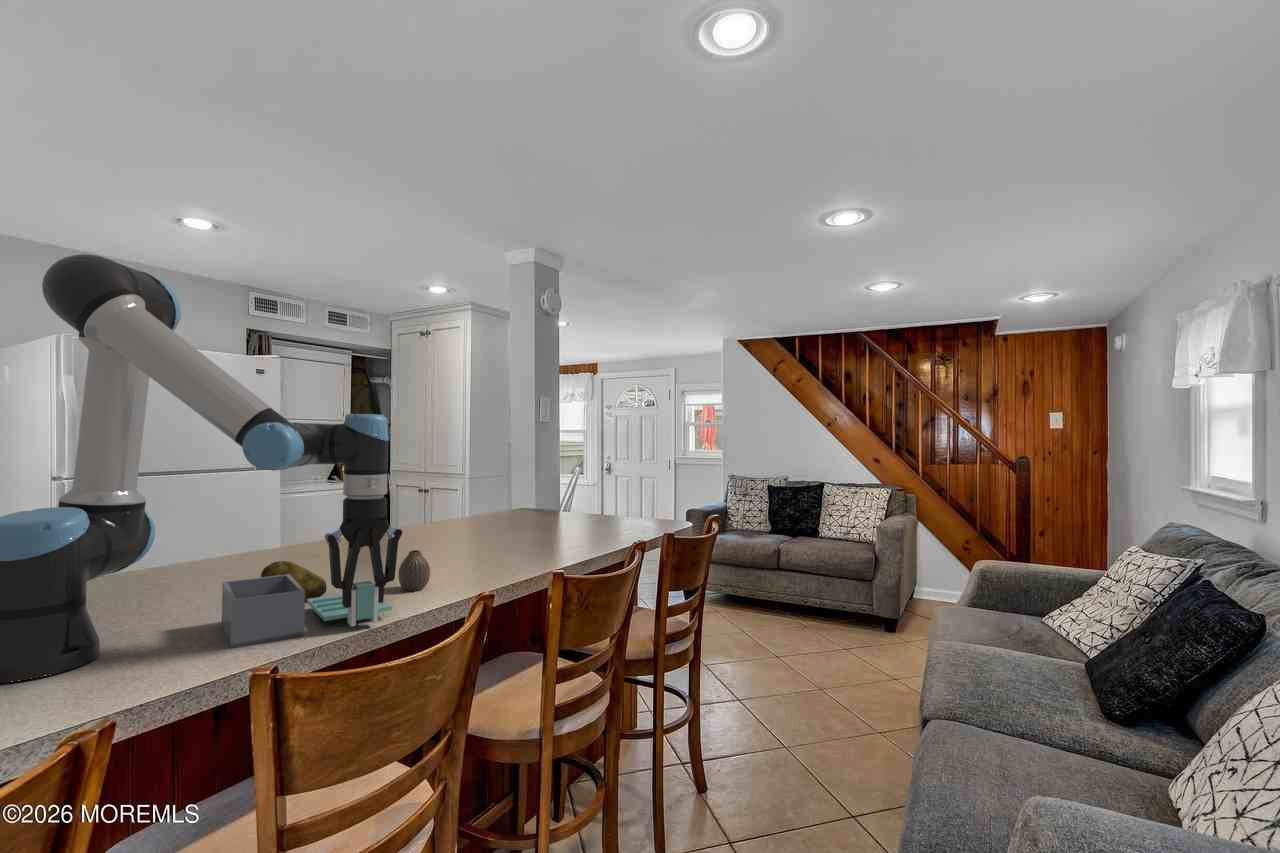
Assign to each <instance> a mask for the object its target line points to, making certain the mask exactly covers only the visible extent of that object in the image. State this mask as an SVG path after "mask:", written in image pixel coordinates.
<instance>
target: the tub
mask: <svg viewBox="0 0 1280 853" xmlns="http://www.w3.org/2000/svg"><path fill="white" fill-rule="evenodd" d="M221 591H222V595H221V596H222V597H221V598H222V599H221V600H222V601H221V604H222V605H221V627H222V629H223V631H224V635H225V637H226V639H228V640H227V642H228V645H229V644H230V645H229V647H230V648H231V647H235V648H238V647H237V646H241V647H245V646H244V645H246V646H251V645H250V644H252V645H256V643H258V644H263V643H269V642H273V641H280V640H286V638H287V639H291V638H298V637H303V636H305V613H306V612H305V611H306V610H305V608H306V604H305V603H306V601H305V590H304V589H303V588H302V587H301V586H300V585H299V584H298V583H297V582H296V581H295V580H294V578H293V577H292V576H291V575H290V574H287V575H278V576H270V577H261V576H260V577H253V578H245V579H236V580H229V581H228V580H227V581H222V590H221Z"/></svg>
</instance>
